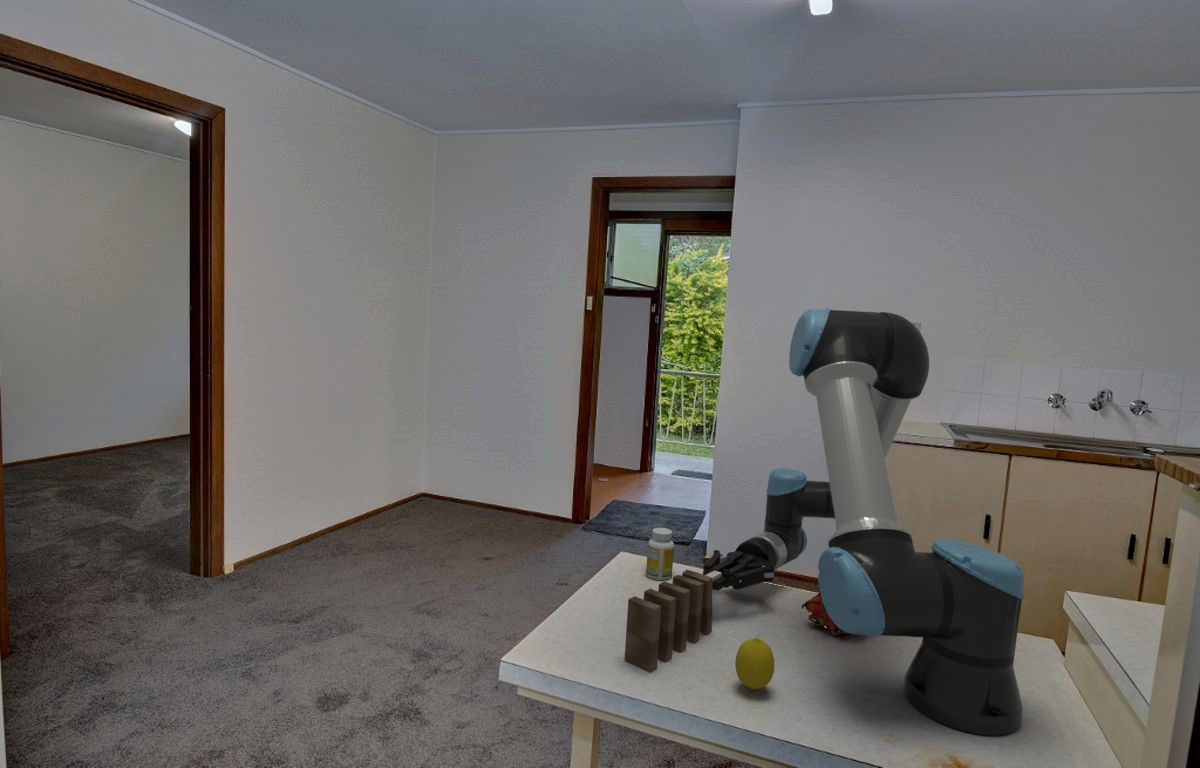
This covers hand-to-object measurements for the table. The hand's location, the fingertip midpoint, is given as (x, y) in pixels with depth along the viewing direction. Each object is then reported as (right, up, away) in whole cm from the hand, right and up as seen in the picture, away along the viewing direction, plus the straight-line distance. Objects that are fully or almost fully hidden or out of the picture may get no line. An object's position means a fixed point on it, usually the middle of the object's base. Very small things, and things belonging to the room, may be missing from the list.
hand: (698, 589), depth 120 cm
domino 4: (-3, -7, -3) cm, 8 cm away
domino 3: (-6, -7, -6) cm, 11 cm away
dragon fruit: (+24, -8, +2) cm, 26 cm away
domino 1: (-11, -8, -13) cm, 19 cm away
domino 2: (-8, -8, -10) cm, 15 cm away
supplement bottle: (-5, -4, +23) cm, 24 cm away
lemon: (+5, -10, -18) cm, 21 cm away
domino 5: (0, -7, 0) cm, 7 cm away
